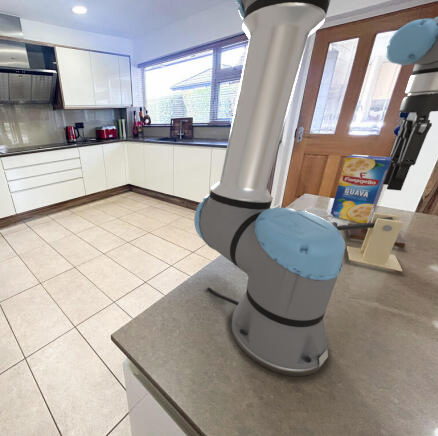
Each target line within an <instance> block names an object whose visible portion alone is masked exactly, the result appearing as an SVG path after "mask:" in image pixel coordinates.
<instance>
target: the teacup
mask: <svg viewBox="0 0 438 436" xmlns="http://www.w3.org/2000/svg"><path fill="white" fill-rule="evenodd" d="M303 211H305V212H308V213H311V214H314V215H316V216H319V217H321V218H323V219H325V220H326V221H328V222H330V221H332V220H333V219H334V216H333V215H332V214H330V213H331V211H328V210H327V209H324V208H321V207H320V208H319V207H307V208H304V210H303ZM329 217H330V218H329Z"/></svg>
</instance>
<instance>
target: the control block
mask: <svg viewBox="0 0 438 436" xmlns="http://www.w3.org/2000/svg"><path fill="white" fill-rule="evenodd" d="M350 224H351V223H347V225H350ZM368 229H369V228H362V229H350V230H347V234H348V238H349V239H354V240H358V241H364V240H365V237H366V234H367V231H368ZM393 247H398V248H405V247H406V242H405V240H404V238H403V237H402V235H401V234H400V233H399V234H398V236H397V239H396V241H395V243H394V246H393Z"/></svg>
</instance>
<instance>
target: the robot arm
mask: <svg viewBox="0 0 438 436" xmlns="http://www.w3.org/2000/svg"><path fill="white" fill-rule="evenodd" d="M331 1H332V0H235V3H237V4H238V5H239V6H238V8H237V12H238V14H239V16H240V17H241V19H242V26H241V27H242V30H243V32H244V33H245V35H246V36H247V38H248V44H247V48H246V53H245V56H244V57H245V58H244V62H243V68H242V73H241V78H240V82H239V87H238V91H237V98H236V101H235V102H236V103H235V107H234V111H233V116H232V122H231V126H230V132H229V136H228V141H227V146H226V151H225V155H224V160H223V165H222V171H221V174H220V180H219V181H218V182H217V183H214V185H212V186H211V187H210V190H209V194H207V195H206V196H205V197H204V198H203V199H202V202H199V203H198V205H197V207H196V209H195V212H194V219H193V221H194V228H195V232H196V234H197V235H198V236H199V238H200V239H201V240H202V241H203V242H204V243H205V244H206V245H207V246H208V247H209V248H210V249H212V250H214V251H216V252H217V253H219V254H220V255H221V256H223V257H224V258H226V259H227V260H228V261H229V262H231V264H233V265H235V266H236V267H237V268H239V269H240V270H241V271H242V272H244V273H245V274H246V275H247V277H248V279H247V283H246V284H247V285H246V290H245V291H246V292H245V293H244V295H243V296H242V298H241V299H240V301H237V300H234V299H232V298H231V297H228V296H225V295H222V294H220V293H218V292H216V291H215V290H214V289H212V288H211V287H208V288H207V289H206V290H207V291H208V292H209V293H211V294H212V295H214V296H216V297H217V298H220V299H222V300H225V301H227V302H228V303H231V304H233V305H236V306H235V308H234V310H233V313H232V316H231V325H230V326H231V332H232V337H233V338H234V340H235V342H236V344H237V345H238V346H239V348H240V349H241V350H242V352H244V354H245V355H246V356H247V357H249V358H250V359H251V360H252V361H254V362H255V363H256V364H258V365H260V366H261V367H263V368H265V369H266V370H269V371H272V372H274V373H277V374H280V375H285V376H289V377H305V376H309V375H312V374H314V373H316V372H317V371H319V370H320V368H322V366H323V365H324V363H325V361H326V360H327V358H329V351H328V340H327V334H326V328H325V321H324V317H325V314H326V311H327V308H328V305H329V302H330V299H331V296H332V294H333V291H334V288H335V285H336V283H337V279H338V278H339V274H340V273H341V272H342V269H343V260H344V256H345V250H346V240H345V239H344V238H343V234H342V232H341V230H338V229H337V228H336V227H335V226H334V225H332V224H331V223H332V222H330V221H326V220H325V219H323V218H321V217H319V216H316V215H314V214H311V213H308V212H305V211H304V210H302V209H299V210H296V209H293V208H291V207H272V202H273V199H274V198H273V196H272V194H271V192H269V190H268V184H269V180H270V177H271V173H272V169H273V165H274V163H275V159H276V155H277V152H278V147H279V144H280V140H281V137H282V133H283V130H284V126H285V122H286V120H287V119H286V118H287V116H288V112H289V109H290V104H291V101H292V97H293V94H294V90H295V86H296V83H297V80H298V76H299V72H300V69H301V65H302V61H303V58H304V53H305V51H306V48H307V43H308V39H309V37H310V36H311V35H312V34H313V33H315V32H316V31H317V30H318V29H319V28H320V27H321V26H322V25H323V24H324V22H325V20H326V17H327V14H328V10H329V7H330V4H331ZM385 57H386V59H387V60H388V61H389V62H390V63H391V64H394V65H395V64H396V65H398V66H411V65H412V66H413V65H414V66H413V69H412V73H411V75H410V76H409V80H408V82H407V86H406V88H405V91H404V93H405V95H407V96H404V97H403V98H402V101H401V104H400V107H399V110H398V111H399V112H400V113H409V114H408V115H407V118H406V119H404V120H402V121H401V123H400V127H399V131H398V133H397V136H396V139H395V143H394V144H393V148H392V150H391V153H390V154H389V157H390V158H391V161H392V162H390V165H389V168H388V170H387V173H386V176H385V179H384V182H383V184H384V186H386V185H387V186H386V190H390V191H402V189H403V186H404V184H405V181H406V179H407V176H408V173H409V171H410V170H411V169H410V168H411V167H412V166H415V165H416V163H417V160H418V158H419V155H420V153H421V150H422V147H423V145H424V143H425V140H426V139H427V136H428V133H429V131H430V129H431V127H432V125H433V123H432V122H431V119H430V114H431V112H438V16H436V17H434V18H429V17H425V18H419V19H414V20H412V21H409V22H408V23H406V24H404V25H402V27H400V28H399V29H397V31H396V32H394V34H393V35H392V36H391V37H390V39H389V40H388V43H387V45H386V48H385ZM271 207H272V208H271Z"/></svg>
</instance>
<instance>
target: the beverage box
mask: <svg viewBox="0 0 438 436" xmlns="http://www.w3.org/2000/svg"><path fill="white" fill-rule="evenodd" d="M390 162H393V161H391V158H390V156H382V155H381V156H380V155H368V154H367V155H366V154H365V155H364V154H349V155H347V156H345V159H344V163H343V167H342V171H341V173H340V177H339V181H338V185H337V188H336V192H335V196H334V199H333V202H332V206H331V209H330V214H332V215H333V218H334V217H335V218H339V219H343V220H348V221H350V222H351V221H352V222H356V223H358V224H361V223H369V222H370V221H371V220H372V218H373V215H374V212H375V211H376V208H377V205H378V203H379V200H380V197H381V195H382V192H383V189H384V187H385V185H384V184H383V182H384V179H385V176H386V173H387V170H388V168H389V165H390Z"/></svg>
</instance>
